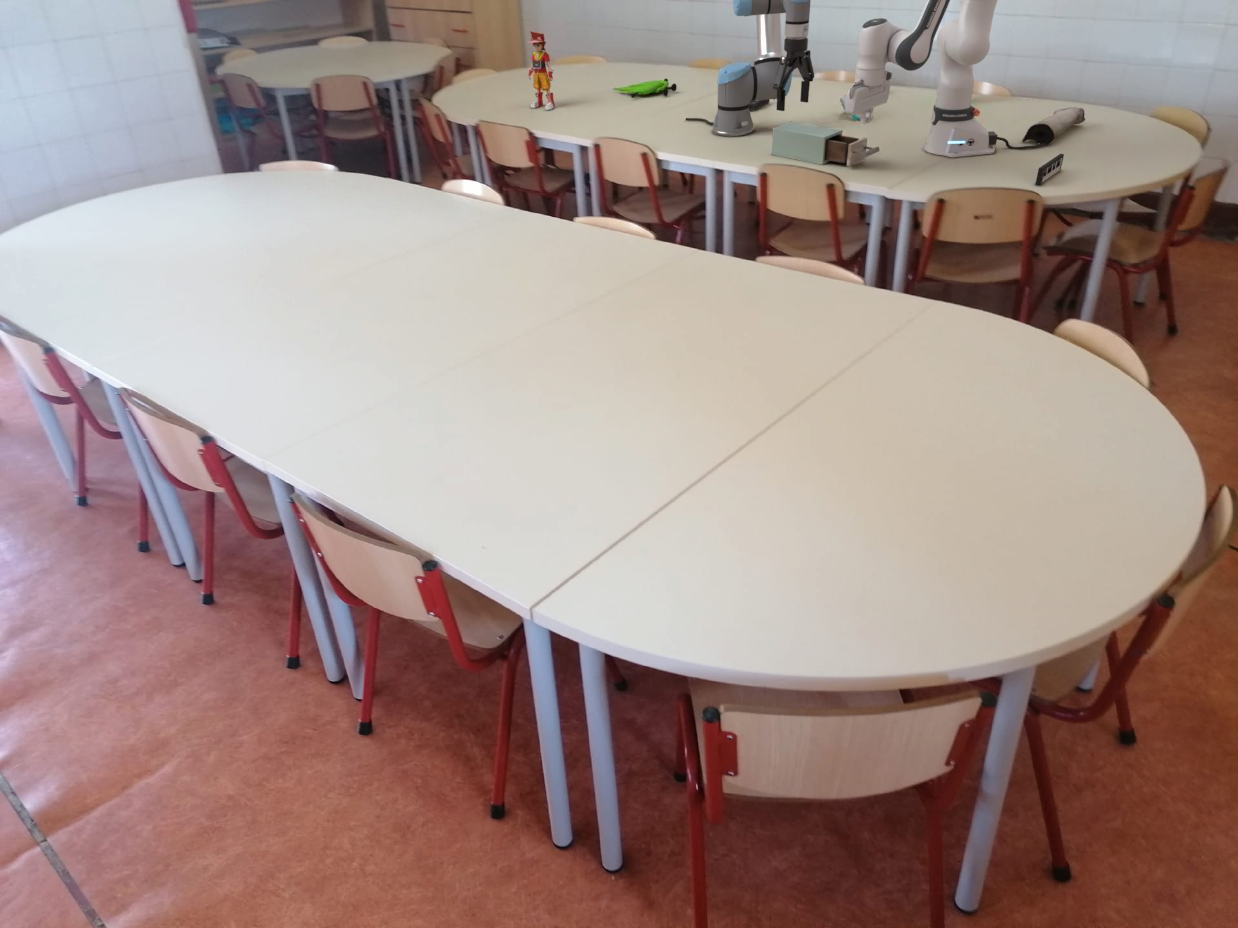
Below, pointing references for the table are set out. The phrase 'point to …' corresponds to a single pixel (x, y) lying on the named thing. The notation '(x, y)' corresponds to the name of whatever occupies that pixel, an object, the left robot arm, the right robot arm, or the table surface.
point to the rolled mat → (1054, 125)
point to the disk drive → (757, 104)
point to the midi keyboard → (1049, 169)
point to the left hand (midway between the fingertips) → (792, 106)
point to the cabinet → (802, 141)
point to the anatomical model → (843, 101)
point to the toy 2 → (648, 88)
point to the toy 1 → (541, 71)
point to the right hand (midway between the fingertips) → (864, 123)
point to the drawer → (847, 149)
